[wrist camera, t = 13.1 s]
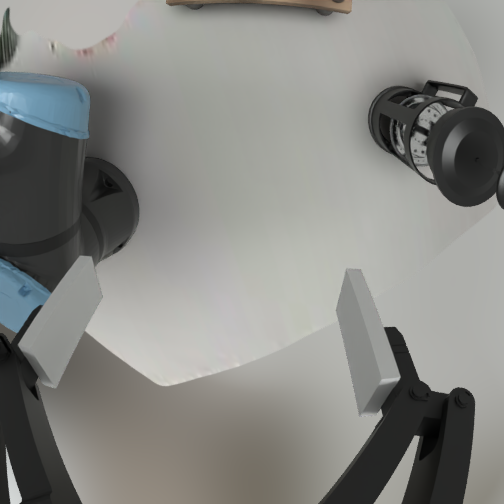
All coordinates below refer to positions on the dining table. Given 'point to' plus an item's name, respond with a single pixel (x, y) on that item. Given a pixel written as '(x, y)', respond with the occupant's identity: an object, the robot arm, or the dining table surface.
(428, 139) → the french press
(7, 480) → the robot arm
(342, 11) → the wooden board with feet
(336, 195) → the dining table surface
